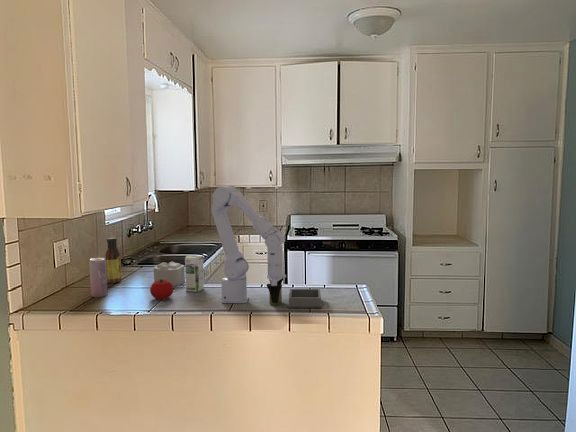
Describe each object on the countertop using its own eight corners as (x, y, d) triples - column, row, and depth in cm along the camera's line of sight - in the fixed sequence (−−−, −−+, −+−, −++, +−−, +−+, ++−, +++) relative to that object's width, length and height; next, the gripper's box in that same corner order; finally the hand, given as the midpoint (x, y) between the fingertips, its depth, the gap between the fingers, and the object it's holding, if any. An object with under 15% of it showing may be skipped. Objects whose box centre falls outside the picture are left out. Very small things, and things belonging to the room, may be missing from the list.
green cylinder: (269, 305, 160) (268, 289, 160) (269, 301, 165) (269, 286, 164) (281, 305, 160) (281, 289, 160) (282, 301, 165) (281, 286, 164)
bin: (288, 308, 157) (288, 298, 156) (289, 298, 168) (289, 288, 168) (321, 308, 156) (321, 298, 156) (319, 299, 168) (319, 289, 167)
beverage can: (102, 292, 179) (99, 256, 177) (110, 294, 176) (108, 258, 174) (88, 295, 174) (86, 259, 173) (96, 298, 171) (94, 261, 169)
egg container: (176, 286, 188) (176, 266, 187) (149, 284, 190) (148, 265, 189) (186, 280, 198) (186, 261, 197) (160, 278, 200) (159, 260, 199)
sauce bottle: (123, 282, 195) (121, 238, 193) (108, 284, 191) (106, 239, 189) (119, 279, 200) (117, 236, 198) (105, 281, 197) (103, 238, 195)
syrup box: (185, 291, 180) (184, 257, 178) (192, 287, 185) (191, 254, 184) (197, 292, 178) (196, 257, 176) (204, 288, 184) (203, 254, 182)
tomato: (145, 300, 168) (144, 280, 167) (160, 294, 176) (159, 275, 175) (164, 303, 164) (163, 282, 163) (178, 296, 172) (177, 276, 172)
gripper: (285, 268, 153) (285, 305, 155) (286, 259, 168) (286, 293, 169) (265, 268, 154) (265, 305, 155) (268, 259, 168) (268, 293, 170)
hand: (275, 299), depth 162 cm, fingers open, 7 cm apart
